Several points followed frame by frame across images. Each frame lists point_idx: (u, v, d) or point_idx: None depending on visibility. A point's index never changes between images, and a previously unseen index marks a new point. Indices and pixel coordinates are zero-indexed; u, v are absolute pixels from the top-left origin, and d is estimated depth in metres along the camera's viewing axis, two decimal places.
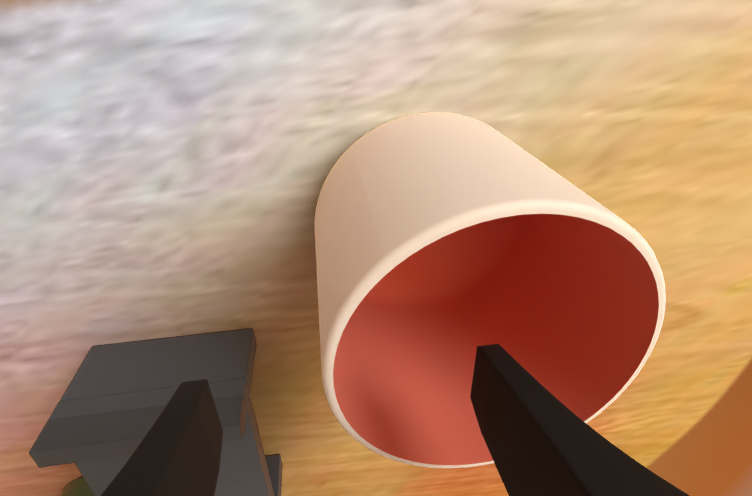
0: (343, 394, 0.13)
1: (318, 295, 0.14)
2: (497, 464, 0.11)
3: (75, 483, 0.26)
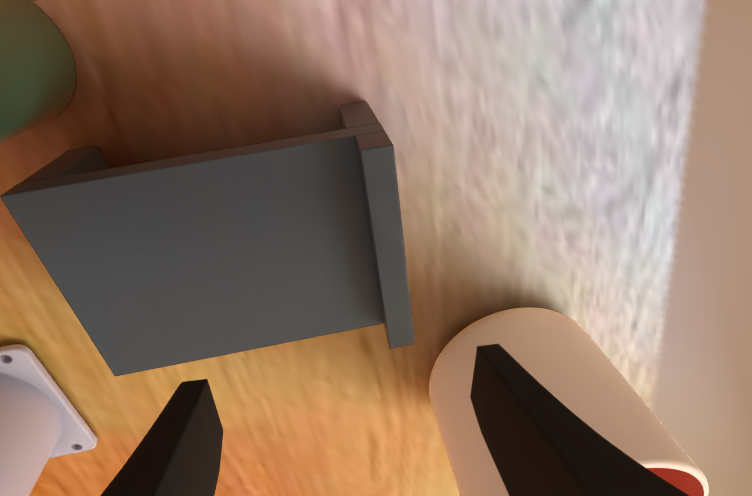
0: None
1: (580, 395, 0.18)
2: (497, 464, 0.11)
3: (50, 23, 0.15)
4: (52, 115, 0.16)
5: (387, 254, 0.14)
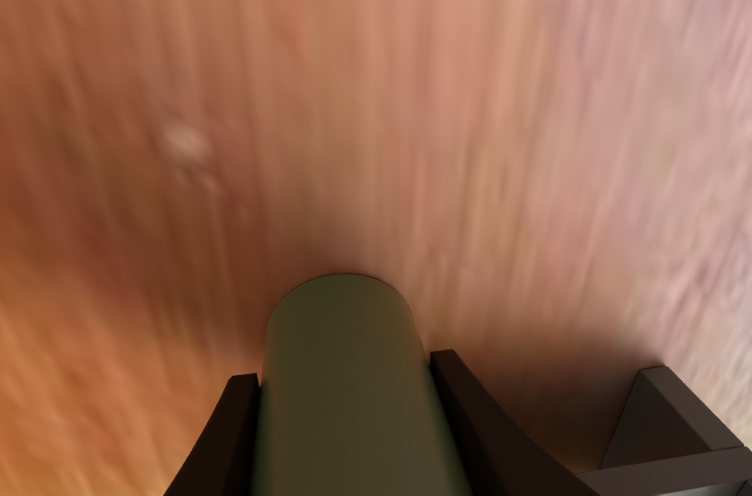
0: None
1: None
2: None
3: (411, 314, 0.13)
4: None
5: None
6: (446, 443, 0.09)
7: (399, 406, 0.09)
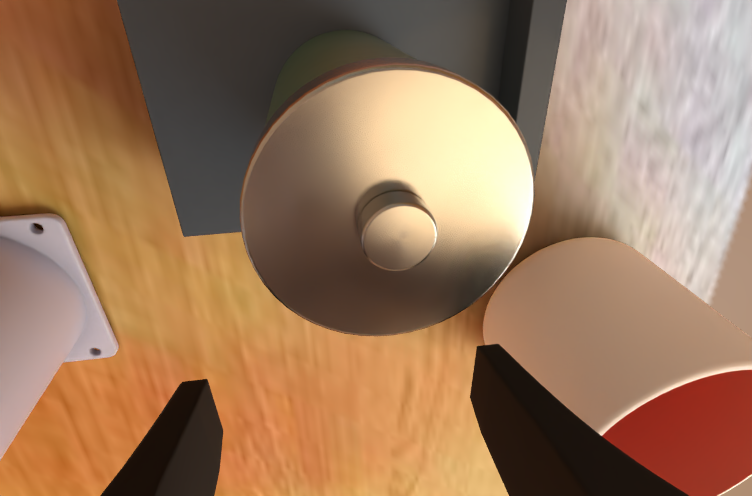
0: None
1: (678, 305, 0.17)
2: (497, 464, 0.11)
3: None
4: None
5: (530, 102, 0.13)
6: None
7: (409, 55, 0.09)
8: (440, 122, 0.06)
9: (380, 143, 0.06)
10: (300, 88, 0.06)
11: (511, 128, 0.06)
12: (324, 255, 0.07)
